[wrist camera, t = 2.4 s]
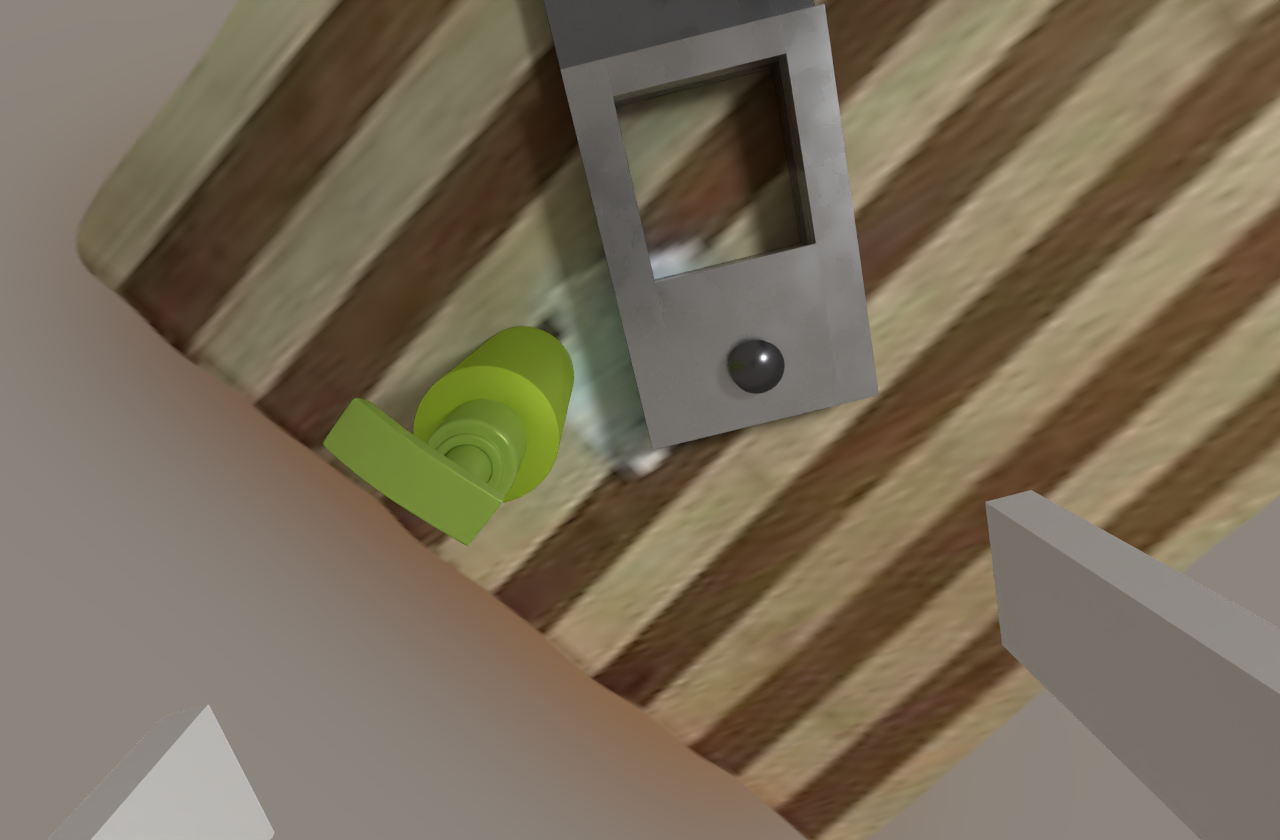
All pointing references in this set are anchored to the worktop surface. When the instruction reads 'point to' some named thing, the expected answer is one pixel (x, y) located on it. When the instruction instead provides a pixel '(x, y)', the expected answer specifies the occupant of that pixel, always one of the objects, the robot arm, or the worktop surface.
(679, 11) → the lower link
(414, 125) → the worktop surface
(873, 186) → the worktop surface
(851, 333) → the upper link
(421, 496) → the soap dispenser
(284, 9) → the worktop surface
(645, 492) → the worktop surface
